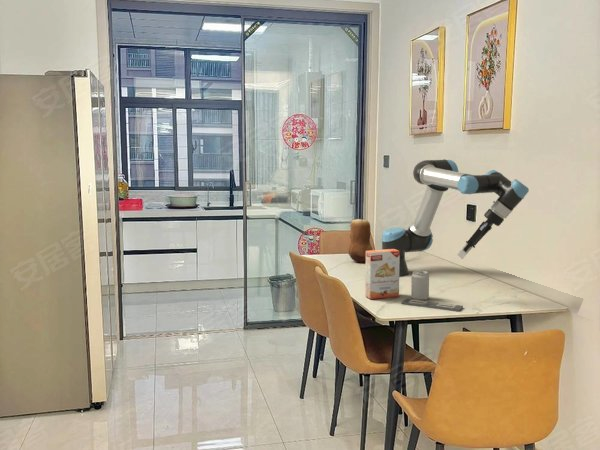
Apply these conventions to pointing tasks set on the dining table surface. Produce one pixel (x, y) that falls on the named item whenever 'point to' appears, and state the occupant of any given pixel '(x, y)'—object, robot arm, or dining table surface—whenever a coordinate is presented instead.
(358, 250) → the butternut squash
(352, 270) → the dining table surface
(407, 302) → the panel
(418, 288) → the can
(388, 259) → the cracker box
